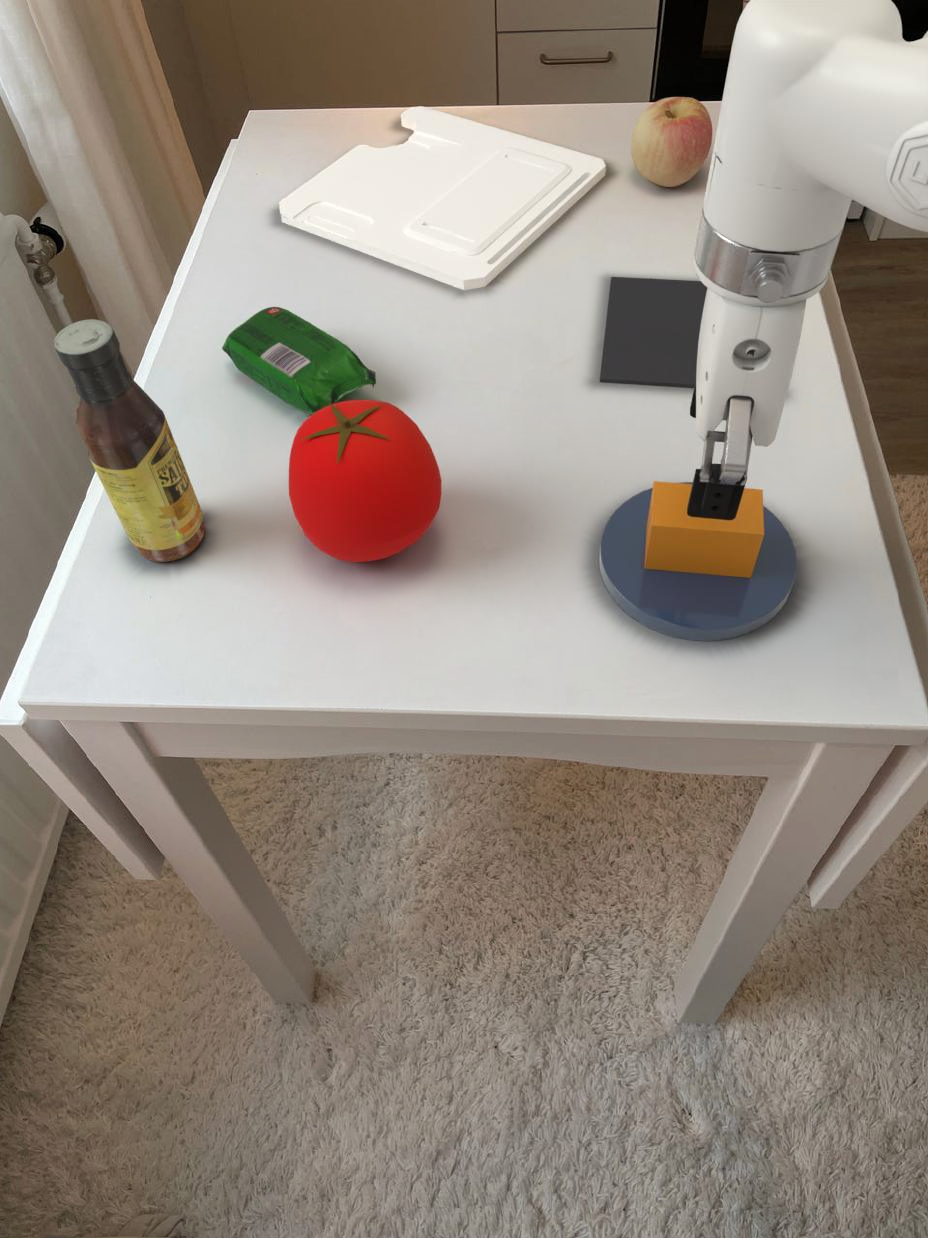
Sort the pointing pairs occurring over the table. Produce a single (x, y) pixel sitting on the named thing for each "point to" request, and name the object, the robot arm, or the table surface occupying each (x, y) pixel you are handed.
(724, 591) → the plate
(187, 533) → the sauce bottle
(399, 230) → the tray
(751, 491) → the block
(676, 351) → the mat
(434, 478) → the tomato
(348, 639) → the table surface
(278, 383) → the snack package
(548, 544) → the table surface
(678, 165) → the apple
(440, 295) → the table surface
